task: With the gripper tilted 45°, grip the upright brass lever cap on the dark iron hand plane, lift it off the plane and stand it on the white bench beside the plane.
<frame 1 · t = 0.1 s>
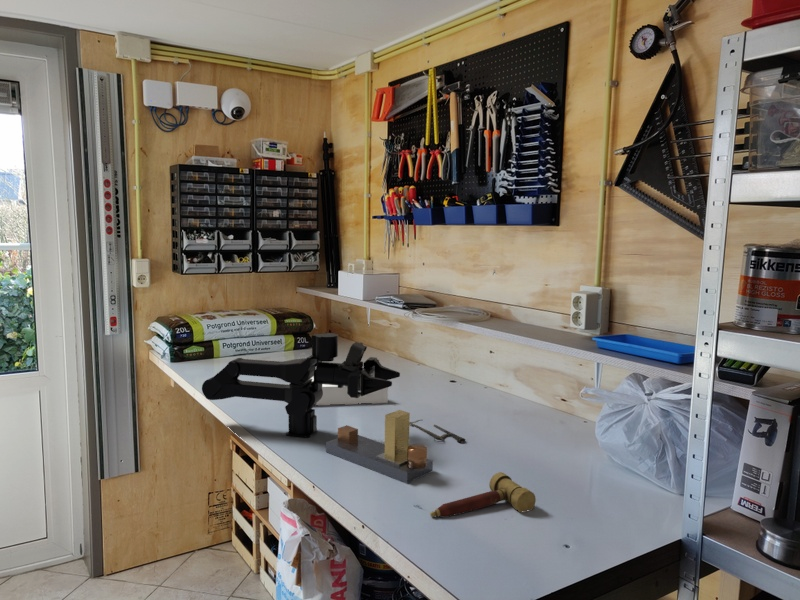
hand: (395, 379, 152), 17 cm above the table, tool horizontal, fingers open, 9 cm apart
plane body: (377, 461, 142), on the table
gavel: (477, 511, 119), on the table
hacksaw: (426, 433, 163), on the table
lever cap: (396, 456, 137), point 3 cm above the table, touching plane body
triangle block: (349, 400, 192), on the table
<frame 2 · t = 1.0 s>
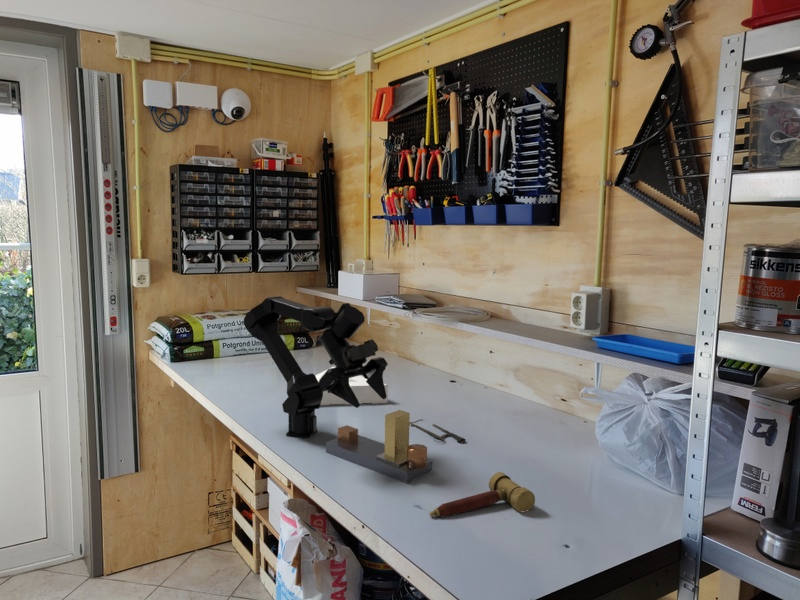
hand: (372, 402, 141), 14 cm above the table, tool tilted 45°, fingers open, 9 cm apart
nothing on the table moved.
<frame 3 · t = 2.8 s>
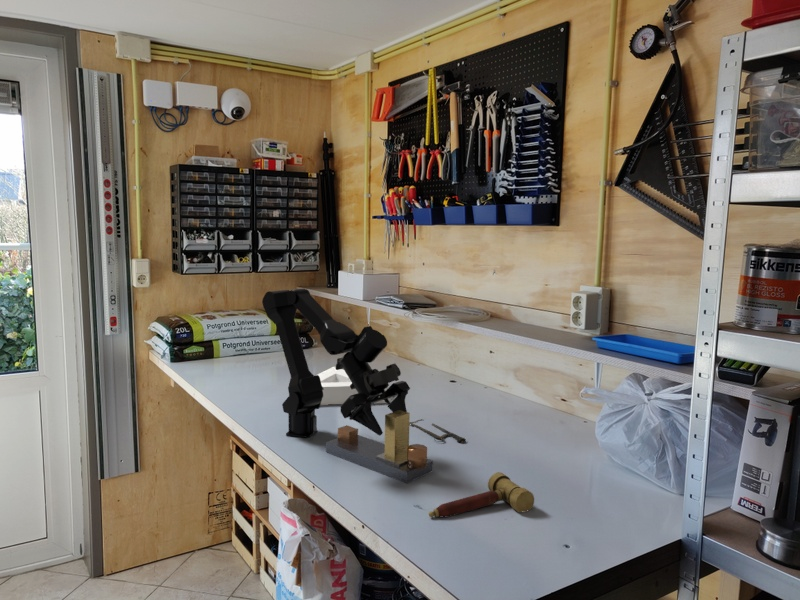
hand: (394, 429, 137), 9 cm above the table, tool tilted 45°, fingers open, 9 cm apart
nothing on the table moved.
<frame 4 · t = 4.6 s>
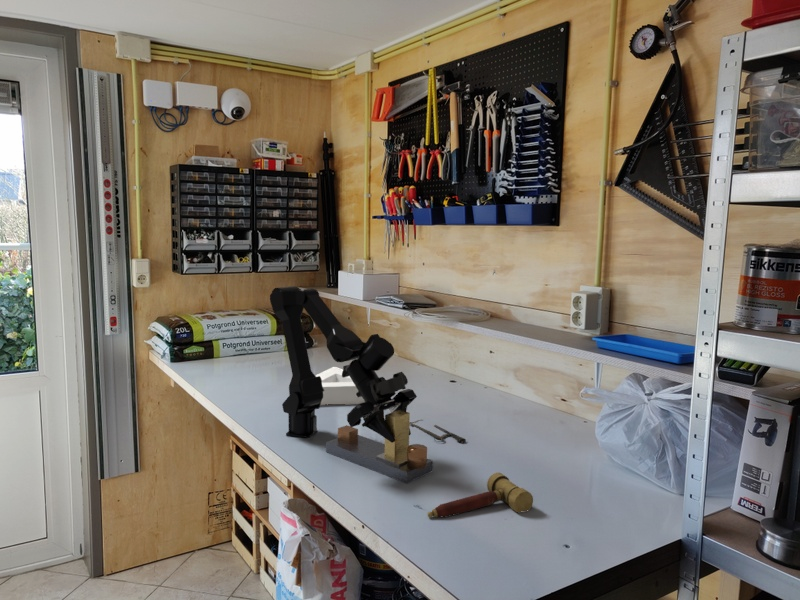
hand: (401, 438, 136), 7 cm above the table, tool tilted 45°, fingers closed on lever cap, 5 cm apart
lever cap: (396, 456, 137), point 3 cm above the table, touching gripper, plane body
everything else where it was.
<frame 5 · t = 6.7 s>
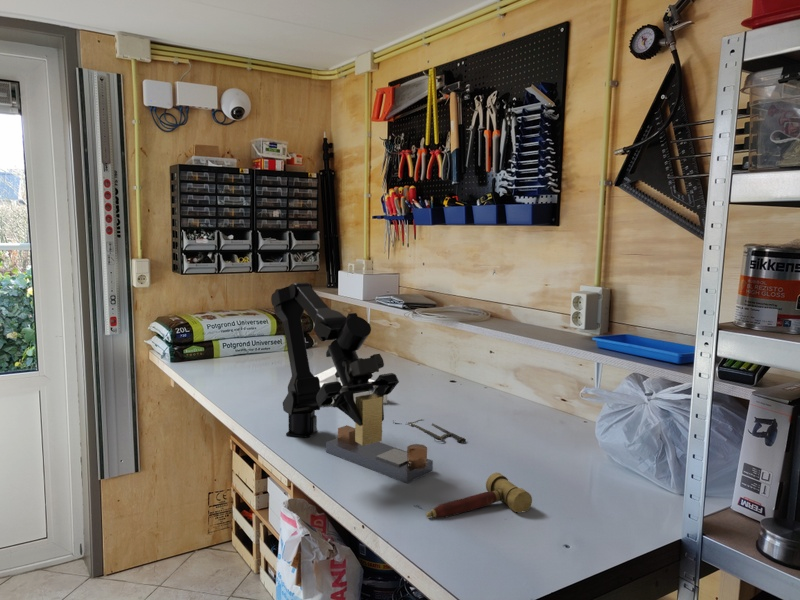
hand: (372, 422, 130), 13 cm above the table, tool tilted 45°, fingers closed on lever cap, 5 cm apart
lever cap: (368, 441, 131), point 8 cm above the table, touching gripper
everything else where it was.
when the fingers open (6 cm above the table, at t = 9.1 s): lever cap drops 2 cm, on the table.
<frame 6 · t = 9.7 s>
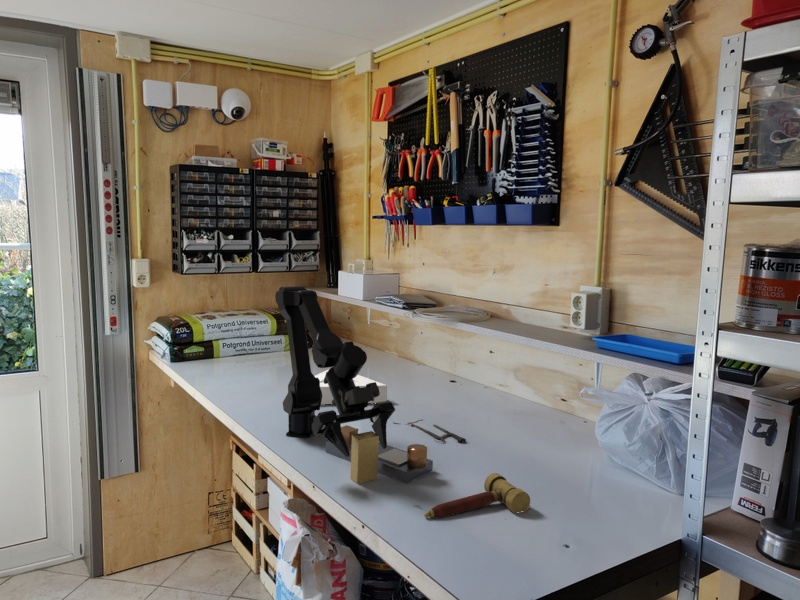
hand: (367, 452, 130), 7 cm above the table, tool tilted 45°, fingers open, 9 cm apart
lever cap: (363, 478, 132), on the table
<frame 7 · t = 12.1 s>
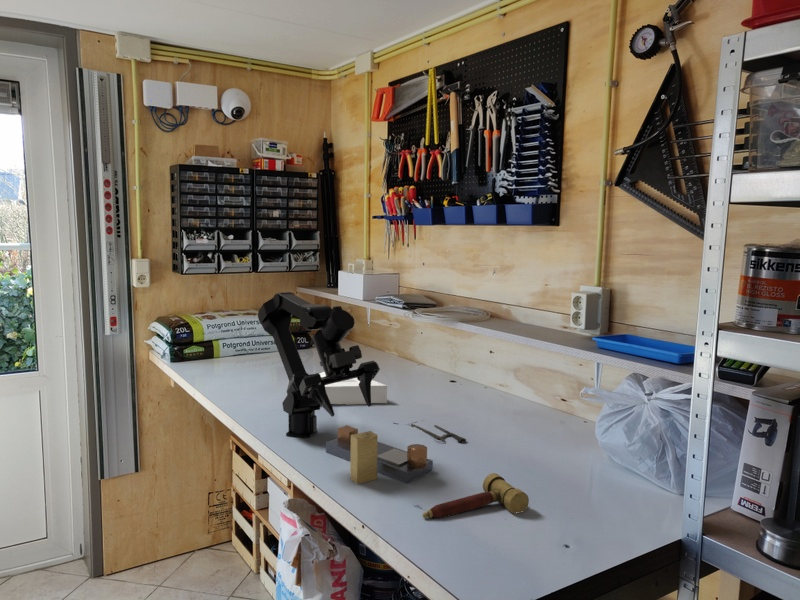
hand: (351, 410, 138), 13 cm above the table, tool tilted 40°, fingers open, 9 cm apart
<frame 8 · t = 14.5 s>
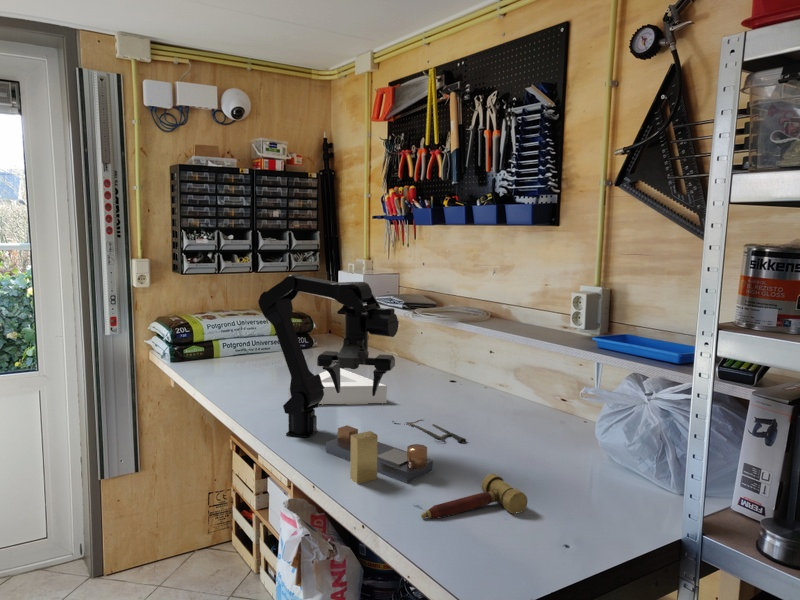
hand: (356, 394, 151), 13 cm above the table, tool pointing down, fingers open, 9 cm apart
at the end: lever cap touching table; lever cap inside the target area (0.1 cm from its centre), on the table; lever cap tilted 0° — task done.
